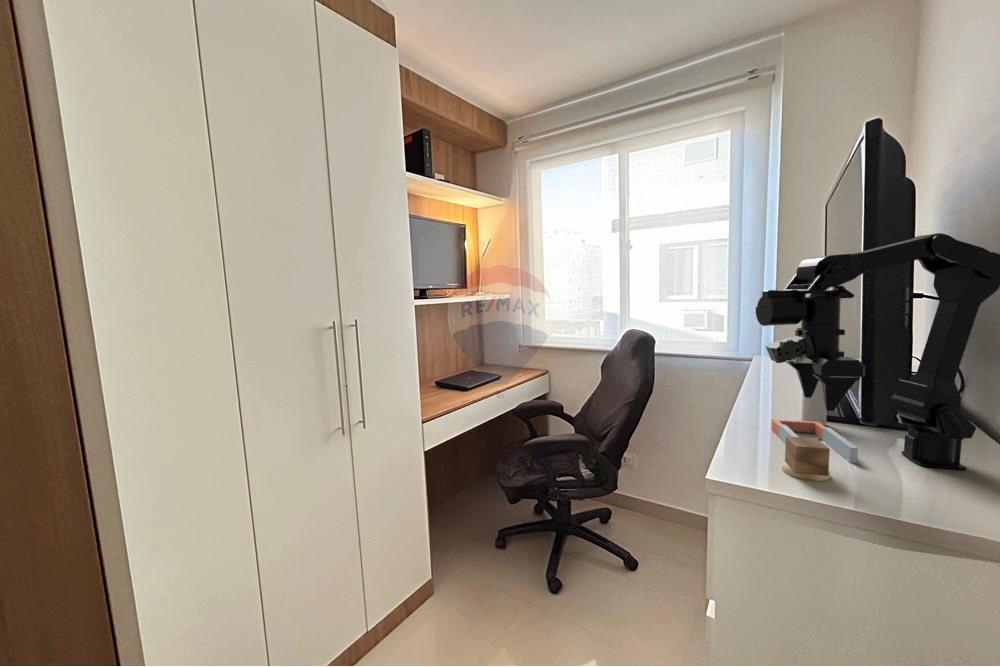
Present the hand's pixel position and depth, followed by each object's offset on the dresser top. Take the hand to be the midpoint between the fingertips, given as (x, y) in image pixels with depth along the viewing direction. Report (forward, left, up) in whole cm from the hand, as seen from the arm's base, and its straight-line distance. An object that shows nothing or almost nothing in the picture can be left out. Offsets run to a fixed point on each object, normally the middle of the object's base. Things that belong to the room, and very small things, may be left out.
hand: (818, 403), depth 77 cm
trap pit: (-2, -15, -12) cm, 19 cm away
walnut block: (+4, +6, -11) cm, 13 cm away
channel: (-2, -7, -12) cm, 14 cm away
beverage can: (-8, -25, -12) cm, 29 cm away
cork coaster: (+4, +6, -12) cm, 14 cm away
